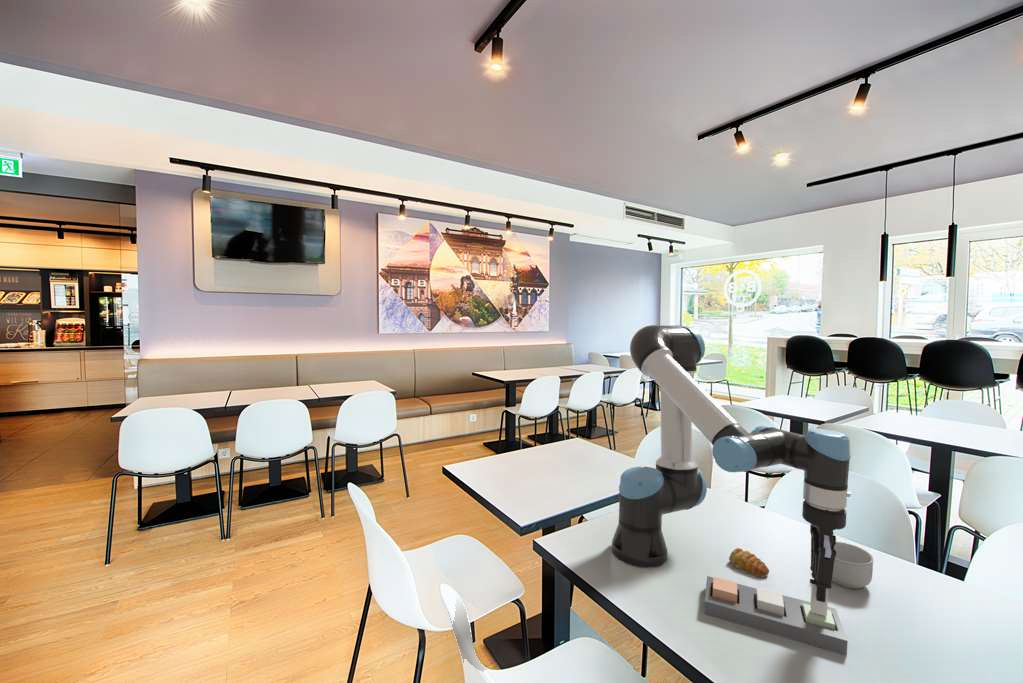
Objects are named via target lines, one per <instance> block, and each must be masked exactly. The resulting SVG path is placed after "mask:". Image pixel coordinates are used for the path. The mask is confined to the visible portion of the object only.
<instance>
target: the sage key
mask: <svg viewBox="0 0 1023 683" xmlns="http://www.w3.org/2000/svg"><path fill="white" fill-rule="evenodd" d="M810 606H811V605H807V604H804V603H803V612H802V615H803V619H804V622H806V623H810V624H814V625H818V626H821V627H825V628H829V629H832V630H835V622H834V619H833V616H832V613H831V610H827V616H823V615H820V614H816V613H812V612H811V609H810Z"/></svg>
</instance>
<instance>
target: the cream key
mask: <svg viewBox="0 0 1023 683" xmlns="http://www.w3.org/2000/svg"><path fill="white" fill-rule="evenodd" d="M756 588H757V590H756V602H757V609H759V610H762V611H766V612H770V613H773V614H777V615H781V616H784V602H783V597H782V595H783V594H782V593H778V592H775V591H770V590H767V589H764V588H759V587H756Z"/></svg>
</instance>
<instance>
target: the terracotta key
mask: <svg viewBox="0 0 1023 683" xmlns="http://www.w3.org/2000/svg"><path fill="white" fill-rule="evenodd" d="M713 578H714V579H713V597H715V598H718V599H722V600H726V601H729V602H733V603H737V584H738V582H736V581H732V580H728V579H724V578H719V577H715V576H713Z"/></svg>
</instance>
